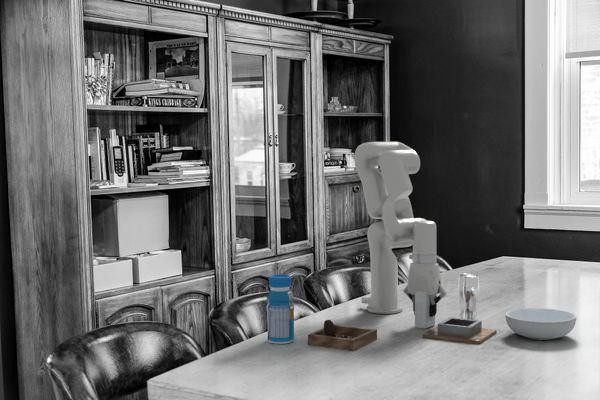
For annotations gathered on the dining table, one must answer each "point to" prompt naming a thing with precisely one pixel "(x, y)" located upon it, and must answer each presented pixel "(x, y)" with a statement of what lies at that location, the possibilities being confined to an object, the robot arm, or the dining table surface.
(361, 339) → the square wooden tray
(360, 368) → the dining table surface
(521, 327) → the serving bowl
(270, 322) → the beverage bottle
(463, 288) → the beer glass
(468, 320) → the board with square socket
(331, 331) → the compass
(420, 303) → the skincare box
